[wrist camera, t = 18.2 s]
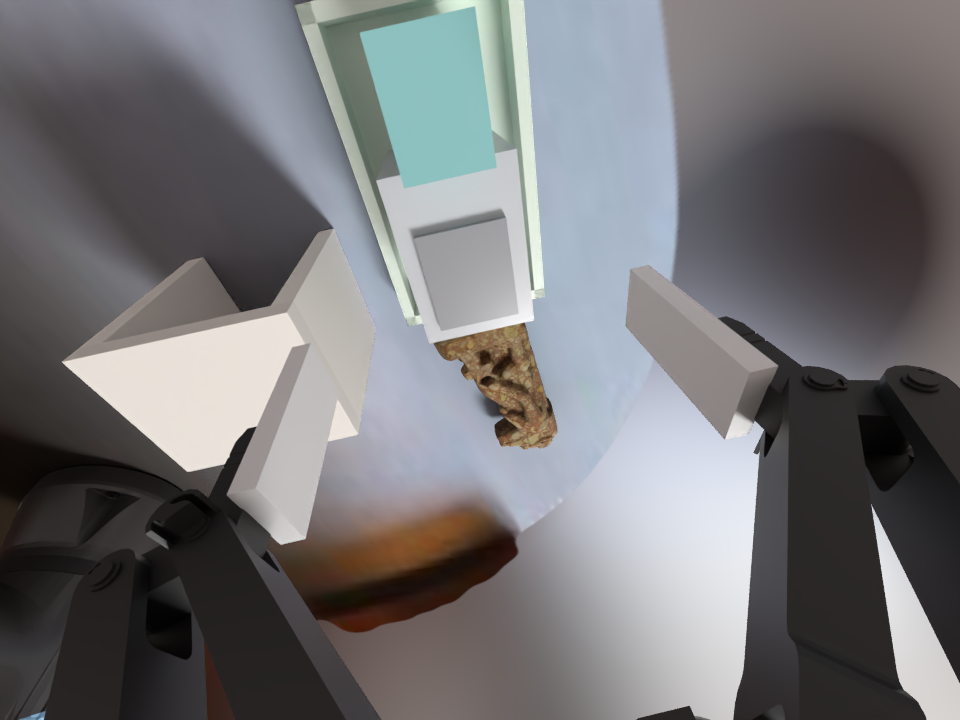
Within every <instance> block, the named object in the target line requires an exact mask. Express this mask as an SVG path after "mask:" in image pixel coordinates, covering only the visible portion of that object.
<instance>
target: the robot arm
mask: <svg viewBox="0 0 960 720" xmlns="http://www.w3.org/2000/svg"><path fill="white" fill-rule="evenodd" d="M626 327H627V328H628V329H629V331H630V332H631V333H632V334H633V335H634V336H635V337H636V339H637V340H638V341H639V342H640V343H641V344H642V345H643V347H644V348H645V349H646V350H647V351H648V352H649V353H650V355H651V356H652V357H653V358H654V359H655V360H656V361H657V363H658V364H659V365H660V366H661V367H662V368H663V369H664V371H665V372H666V373H667V374H668V375H669V376H670V377H671V378H672V380H673V381H674V382H675V383H676V384H677V385H678V387H679V388H680V389H681V390H682V391H683V392H684V393H685V395H686V396H687V397H688V398H689V399H690V400H691V402H692V403H693V404H694V405H695V406H696V407H697V408H698V410H699V411H700V412H701V413H702V414H703V415H704V416H705V418H707V420H708V421H709V422H710V423H711V424H712V426H713V427H714V428H715V429H716V430H717V431H718V432H719V434H720V435H721V436H722V437H723V438H724V439H725V440H726V439H730V438H734V437H738V436H743V435H747V434H749V433H750V430H751V428H752V426H753V424H754V421H756V422H757V423H758V424H759V425H760V426H761V427H762V428H763V429H764V431H763V434H762V436H761V438H760V440H759V442H758V444H757V446H756V448H755V451H754V453H755V454H758V453H759V451H760V455H759V470H758V483H757V496H756V510H755V523H754V537H753V551H752V565H751V578H750V593H749V606H748V619H747V633H746V646H745V660H744V670H743V675H742V679H741V682H740V685H739V689H738V692H737V697H736V702H735V709H734V719H733V720H926V716H925V714H924V712H923V711H922V709H921V707H920V705H919V703H918V702H917V701H916V700H915V699H914V698H913V697H912V696H910V695H909V694H908V693H907V692H906V691H904V690H903V688H902V686H901V684H900V682H899V679H898V675H897V670H896V664H895V657H894V651H893V644H892V637H891V631H890V625H889V618H888V611H887V605H886V598H885V592H884V585H883V580H882V572H881V565H880V559H879V553H878V546H877V539H876V533H875V526H874V520H873V513H872V507H871V504H872V506H873V508H874V510H875V512H876V514H877V516H878V518H879V520H880V522H881V525H882V527H883V528H884V531H885V533H886V535H887V536H888V539H889V541H890V543H891V545H892V547H893V549H894V551H895V553H896V555H897V557H898V559H899V561H900V563H901V565H902V567H903V569H904V571H905V573H906V575H907V577H908V579H909V581H910V583H911V585H912V587H913V589H914V591H915V593H916V595H917V597H918V599H919V601H920V604H921V605H922V607H923V610H924V612H925V614H926V616H927V617H928V620H929V622H930V624H931V626H932V628H933V630H934V632H935V634H936V636H937V638H938V640H939V642H940V644H941V646H942V648H943V650H944V652H945V654H946V656H947V658H948V660H949V662H950V664H951V666H952V668H953V670H954V672H955V674H956V676H957V678H958V680H959V682H960V388H959V387H958V386H957V385H956V384H955V383H954V382H952V381H951V380H950V379H948V378H947V377H945V376H943V375H941V374H939V373H937V372H935V371H932V370H929V369H925V368H921V367H914V366H906V365H905V366H894V367H891V368H888V369H887V370H886V371H885V373H884V374H883V376H882V377H881V379H880V380H876V381H875V380H847V379H846V378H845V377H844V376H842V375H840V374H838V373H836V372H834V371H832V370H829V369H825V368H821V367H812V366H805V367H802V366H801V365H800V364H798V363H797V362H796V361H794V360H793V359H791V358H790V357H789V356H787V355H786V354H785V353H783V352H782V351H780V350H779V349H778V348H776V347H775V346H773V345H772V344H771V343H769V342H768V341H765V339H764V338H763V337H761V336H760V335H759V334H755V331H753V330H751V329H750V328H749V327H747V326H746V325H745V324H744V323H742V322H739V321H737V320H734V319H732V318H729V317H721V318H716V317H715V316H714V315H712V314H711V313H710V312H708V311H707V310H706V309H705V308H703V307H702V306H701V305H699V304H698V303H697V302H696V301H694V300H693V299H692V298H690V297H689V296H688V295H687V294H685V293H684V292H683V291H681V290H680V289H679V288H678V287H676V286H675V285H674V284H673V283H671V282H670V281H669V280H667V279H666V278H665V277H664V276H662V275H661V274H660V273H658V272H657V271H656V270H655V269H653V268H652V267H651V266H649V265H647V266H643V267H639V268H634V269H630V280H629V292H628V303H627V315H626ZM338 395H339V391H338V390H337V388H336V386H335V384H334V383H333V381H332V379H331V377H330V376H329V374H328V372H327V370H326V369H325V367H324V365H323V363H322V362H321V360H320V358H319V356H318V355H317V353H316V351H315V349H314V347H313V346H312V344H311V343H308V344H304V345H300V346H295V347H292V348H291V351H290V353H289V355H288V357H287V360H286V362H285V364H284V366H283V369H282V371H281V373H280V376H279V378H278V380H277V382H276V385H275V387H274V389H273V391H272V394H271V396H270V398H269V400H268V403H267V405H266V407H265V409H264V412H263V414H262V416H261V418H260V421H259V423H258V425H257V426H256V427H252V428H248V429H247V430H246V431H245V432H244V433H243V434H242V435H241V436H240V437H239V439H238V440H237V441H236V442H235V444H234V446H233V448H232V450H231V452H230V455H229V456H230V457H229V458H228V459H227V461H226V463H225V465H224V469H222V471H221V473H220V475H219V477H218V479H217V481H216V484H215V486H214V488H213V490H212V492H211V494H210V496H209V498H207V497H206V496H205V495H204V494H203V493H201V492H200V491H199V490H194V489H189V490H186V491H183V492H182V491H180V490H179V489H177V488H176V487H174V486H173V485H171V484H169V483H167V482H165V481H163V480H161V479H158V478H156V477H153V476H151V475H148V474H145V473H141V472H137V471H133V470H129V469H124V468H117V467H109V466H75V467H69V468H64V469H60V470H57V471H54V472H51V473H49V474H47V475H46V476H44V477H43V478H41V479H40V480H39V482H38V483H37V484H36V485H35V486H34V487H33V488H32V489H31V490H30V491H29V492H28V493H27V494H26V495H25V497H24V498H23V500H22V501H21V503H20V505H19V507H18V512H17V514H16V516H15V518H14V520H13V522H12V524H11V526H10V529H9V531H8V533H7V535H6V538H5V540H4V543H3V545H2V547H1V550H0V720H207V701H206V679H205V656H204V640H205V643H206V645H207V648H208V650H209V653H210V655H211V658H212V660H213V663H214V666H215V668H216V671H217V673H218V676H219V678H220V681H221V683H222V686H223V688H224V691H225V693H226V696H227V699H228V701H229V703H230V706H231V709H232V711H233V714H234V716H235V719H236V720H381V719H380V717H379V715H378V714H377V712H376V711H375V709H374V708H373V706H372V705H371V703H370V702H369V700H368V699H367V697H366V696H365V694H364V693H363V691H362V689H361V688H360V686H359V685H358V683H357V682H356V680H355V679H354V677H353V676H352V674H351V673H350V671H349V670H348V668H347V667H346V665H345V664H344V662H343V661H342V659H341V658H340V656H339V655H338V653H337V651H336V650H335V648H334V647H333V645H332V644H331V642H330V641H329V639H328V638H327V636H326V635H325V633H324V632H323V630H322V629H321V627H320V625H319V624H318V623H317V621H316V619H315V618H314V616H313V615H312V613H311V612H310V610H309V609H308V607H307V606H306V604H305V603H304V601H303V600H302V598H301V597H300V595H299V593H298V592H297V590H296V589H295V587H294V586H293V584H292V583H291V581H290V580H289V578H288V577H287V575H286V574H285V572H284V571H283V569H282V568H281V566H280V565H279V563H278V561H277V560H276V558H275V557H274V555H273V554H272V553H271V552H270V551H269V550H268V549H267V546H268V542H269V539H270V536H272V537H273V538H274V539H275V540H276V541H277V542H278V543H279V544H280V545H282V544H286V543H290V542H294V541H298V540H303V539H306V534H307V530H308V526H309V521H310V517H311V513H312V508H313V504H314V499H315V495H316V491H317V486H318V482H319V478H320V473H321V469H322V465H323V460H324V456H325V451H326V447H327V443H328V438H329V434H330V430H331V425H332V421H333V417H334V412H335V408H336V403H337V399H338ZM637 720H709V719H706V718H702V717H697V716H694V715H693V712H692V710H691V708H690V706H687V707H683V708H679V709H675V710H671V711H667V712H663V713H658V714H654V715H650V716H646V717H642V718H638V719H637Z"/></svg>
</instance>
